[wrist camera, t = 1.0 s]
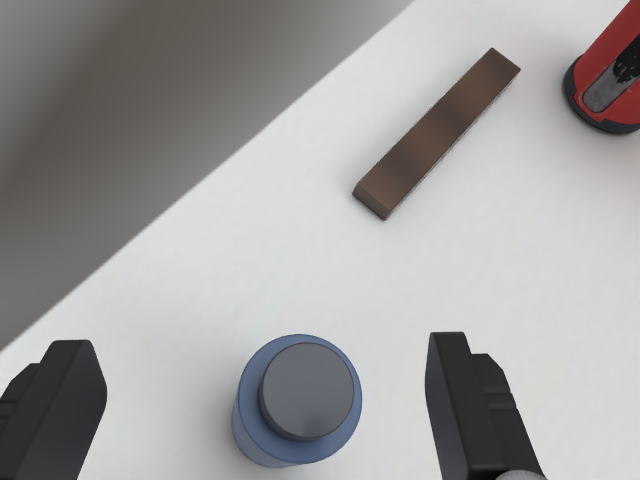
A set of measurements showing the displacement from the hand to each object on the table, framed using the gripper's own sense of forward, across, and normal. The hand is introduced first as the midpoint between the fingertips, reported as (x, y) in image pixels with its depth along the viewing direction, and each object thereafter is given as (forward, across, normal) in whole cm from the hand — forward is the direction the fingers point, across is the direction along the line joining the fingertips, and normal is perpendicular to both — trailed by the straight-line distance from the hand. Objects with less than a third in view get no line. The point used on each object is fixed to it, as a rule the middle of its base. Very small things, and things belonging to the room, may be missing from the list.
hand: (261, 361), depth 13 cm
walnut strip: (+30, -10, +7) cm, 32 cm away
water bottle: (+11, +2, +16) cm, 20 cm away
